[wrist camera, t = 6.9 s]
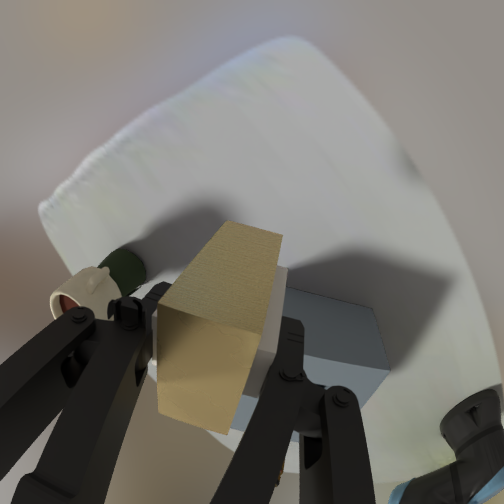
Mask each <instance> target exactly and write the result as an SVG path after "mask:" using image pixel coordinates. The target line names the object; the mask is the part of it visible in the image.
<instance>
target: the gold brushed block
mask: <svg viewBox="0 0 504 504" xmlns="http://www.w3.org/2000/svg"><path fill="white" fill-rule="evenodd" d="M282 237H283V235H281V234H277V233H274V232H270V231H266V230H262V229H259V228H255V227H251V226H247V225H244V224H240V223H236V222H232V221H228V220H227V221H226V222H225V223H224V224H223V225H222V226H221V227H220V229H219V230H218V231H217V232H216V233H215V234H214V236H213V237H212V238H211V239H210V240H209V241H208V243H207V244H206V245H205V246H204V247H203V248H202V250H201V251H200V252H199V253H198V254H197V256H196V257H195V258H194V259H193V260H192V261H191V263H190V264H189V265H188V266H187V267H186V269H185V270H184V271H183V272H182V273H181V275H180V276H179V277H178V278H177V279H176V281H175V282H174V283H173V284H172V286H171V287H170V288H169V289H168V290H167V292H166V293H165V294H164V295H163V297H162V298H161V299H160V300H159V302H158V303H157V390H158V411H159V413H161V414H163V415H166V416H169V417H171V418H174V419H177V420H180V421H182V422H185V423H188V424H191V425H194V426H198V427H201V428H204V429H207V430H210V431H214V432H217V433H221V434H224V435H227V434H228V431H229V429H230V426H231V423H232V421H233V418H234V415H235V412H236V409H237V407H238V404H239V401H240V398H241V395H242V392H243V390H244V387H245V384H246V381H247V378H248V375H249V372H250V369H251V366H252V363H253V360H254V357H255V354H256V351H257V348H258V345H259V342H260V339H261V336H262V332H263V328H264V323H265V319H266V314H267V309H268V305H269V300H270V295H271V291H272V286H273V281H274V276H275V271H276V267H277V262H278V257H279V252H280V247H281V242H282Z"/></svg>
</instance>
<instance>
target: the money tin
mask: <svg viewBox="0 0 504 504" xmlns="http://www.w3.org/2000/svg"><path fill="white" fill-rule="evenodd" d="M282 316H285V317H289V318H293V319H297V320H301V322H302V324H303V326H304V328H305V336H304V363H303V369H304V371H305V373H306V375H307V378H308V379H309V380H310V381H311V382H312V383H314V384H316V385H318V386H320V387H322V388H324V389H326V390H327V389H328V388H330V387H332V386H337V385H340V386H344V387H347V388H348V389H350V390H352V391H353V393H354V394H355V395H356V397H357V399H358V402H359V407H360V409H361V408H362V407H363V406H364V405H365V403H366V402H367V401H368V400H369V398H370V397H371V396H372V395H373V393H374V392H375V391H376V390H377V388H378V387H379V386H380V384H381V383H382V382H383V380H384V379H385V378H386V376H387V375H388V374H389V372H390V367H389V363H388V360H387V356H386V353H385V349H384V346H383V342H382V339H381V336H380V332H379V329H378V326H377V323H376V320H375V316H374V313H373V310H372V309H371V308H367V307H363V306H359V305H355V304H351V303H347V302H343V301H339V300H335V299H332V298H328V297H324V296H320V295H316V294H312V293H308V292H305V291H301V290H297V289H293V288H289V287H286V288H285V296H284V303H283V310H282ZM258 399H259V397H258V398H254V397H250V396H246V395H243V394H242V395H241V398H240V401H239V404H238V407H237V409H236V412H235V415H234V418H233V421H232V423H231V426H230V428H232V429H236V430H240V431H244V432H245V430H246V427H247V425H248V423H249V421H250V418H251V416H252V414H253V411H254V409H255V407H256V405H257V402H258ZM290 441H293V442H299V433H298V432H296V431H294V430H293V433H292V436H291V440H290Z"/></svg>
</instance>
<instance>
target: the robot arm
mask: <svg viewBox="0 0 504 504" xmlns="http://www.w3.org/2000/svg"><path fill="white" fill-rule="evenodd" d="M287 272H288V268H285V267H281V266H277V267H276V271H275V276H274V281H273V286H272V291H271V295H270V300H269V305H268V309H267V314H266V319H265V323H264V328H263V332H262V336H261V339H260V342H259V345H258V348H257V351H256V354H255V357H254V360H253V363H252V366H251V369H250V372H249V375H248V378H247V381H246V384H245V387H244V390H243V392H242V394H243V395H246V396H250V397H254V398H258V397H259V399H258V402H257V405H256V407H255V409H254V411H253V414H252V416H251V418H250V421H249V423H248V425H247V427H246V430H245V432H244V434H243V436H242V438H241V441H240V443H239V445H238V447H237V449H236V451H235V453H234V456H233V458H232V460H231V462H230V464H229V466H228V468H227V470H226V472H225V474H224V476H223V478H222V480H221V482H220V484H219V486H218V488H217V490H216V492H215V494H214V496H213V498H212V500H211V502H210V504H269V502H270V499H271V496H272V494H273V491H274V488H275V485H276V482H277V480H278V477H279V474H280V471H281V468H282V465H283V462H284V459H285V456H286V453H287V449H288V446H289V443H290V440H291V436H292V433H293V430H294V431H296V432H298V433H299V461H300V499H299V500H300V501H299V504H376V502H375V494H374V487H373V479H372V473H371V466H370V460H369V454H368V448H367V443H366V437H365V432H364V427H363V422H362V417H361V412H360V407H359V402H358V399H357V397H356V395H355V394H354V393H353V391H352V390H350V389H348V388H347V387H344V386H340V385H337V386H332V387H330V388H328V389H327V390H326V389H324V388H322V387H320V386H318V385H316V384H314V383H312V382H311V381H310V380H309V379H308V378H307V375H306V373H305V371H304V369H303V363H304V336H305V328H304V326H303V324H302V322H301V320H297V319H293V318H289V317H285V316H282V310H283V303H284V296H285V288H286V280H287ZM171 286H172V284H170V283H167V282H164V281H163V282H161V283H159V284H156V285H154V287H153V288H152V289H151V290H150V291H149V293H147V294H146V295H145V297H144V298H143V299H142V300H141V299H138V298H136V297H130V296H126V297H121V298H118V299H116V300H115V301H114V302H113V315H114V321H110V320H102V319H96V318H95V315H94V312H93V311H92V310H91V309H90V308H87V307H85V306H77V307H72V308H71V309H69V310H67V311H66V312H65V313H63V314H62V315H61V316H59V317H58V318H57V319H56V320H54V321H53V322H52V323H50V324H49V325H48V326H47V327H45V328H44V329H43V330H42V331H40V332H39V333H38V334H37V335H35V336H34V337H33V338H32V339H31V340H29V341H28V342H27V343H26V344H24V345H23V346H22V347H21V348H20V349H19V350H18V351H16V352H15V353H14V354H13V355H11V356H10V357H9V358H8V359H7V360H6V361H4V362H3V363H2V364H1V365H0V481H1V480H2V479H3V478H4V477H5V475H6V474H7V473H8V472H9V471H10V469H11V468H12V467H13V466H14V465H15V463H16V462H17V461H18V460H19V459H20V457H21V456H22V455H23V454H24V453H25V451H26V450H27V449H28V448H29V447H30V446H31V444H32V443H33V442H34V441H35V440H36V439H37V438H38V436H39V435H40V434H41V433H42V432H43V431H44V429H45V428H46V427H47V426H48V425H49V424H50V423H51V421H52V420H53V419H54V418H55V417H56V416H57V415H58V414H59V413H60V411H61V410H62V409H63V410H62V413H61V415H60V416H59V418H58V420H57V422H56V425H55V427H54V429H53V431H52V433H51V435H50V437H49V439H48V442H47V444H46V446H45V448H44V450H43V453H42V455H41V457H40V459H39V462H38V464H37V467H36V469H35V470H34V471H33V472H32V473H29V474H25V475H24V476H23V477H22V478H21V479H20V481H19V483H18V485H17V487H16V490H15V493H14V496H13V498H12V502H11V504H104V502H105V499H106V495H107V491H108V488H109V485H110V481H111V478H112V474H113V471H114V468H115V465H116V461H117V458H118V455H119V452H120V449H121V446H122V443H123V440H124V437H125V433H126V430H127V428H128V425H129V422H130V419H131V416H132V413H133V410H134V407H135V405H136V402H137V399H138V396H139V393H140V391H141V388H142V385H143V383H144V380H145V377H146V375H147V371H148V362H149V361H150V359H151V357H152V365H155V366H157V303H158V302H159V300H160V299H161V298H162V297H163V295H164V294H165V293H166V292H167V290H168V289H169V288H170V287H171ZM440 431H441V434H442V436H443V438H444V439H445V440H446V442H447V443H448V444H449V446H450V447H451V448H452V449H453V451H454V453H455V457H456V461H455V462H453V463H451V464H449V465H446V466H444V467H442V468H440V469H437V470H435V471H433V472H430V473H428V474H425V475H423V476H420V477H418V478H413V479H411V480H410V481H407V482H405V483H402V484H400V485H398V486H397V487H396V488H395V489H394V490H393V491H392V493H391V495H390V498H389V502H388V504H483V503H484V502H486V501H488V500H489V499H491V498H492V497H493V496H495V495H496V494H498V493H499V492H500V491H501V490H503V489H504V429H503V426H502V423H501V408H500V399H499V397H498V395H497V392H496V391H494V390H485V391H482V392H479V393H477V394H475V395H473V396H471V397H469V398H467V399H466V400H464V401H462V402H461V403H460V404H458V405H457V406H456V407H454V408H453V409H452V410H451V411H450V412H449V413H448V414H447V415H446V416H445V417H444V418H443V420H442V421H441V423H440Z"/></svg>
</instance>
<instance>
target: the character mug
mask: <svg viewBox="0 0 504 504" xmlns="http://www.w3.org/2000/svg"><path fill="white" fill-rule="evenodd" d="M145 280H146V271H145V269H144V266H143V264H142V261H140V260H139V259H138V258H137V257H136V256H135V255H134V254H132V253H131V252H129V251H127V250H125V249H116V250H115V251H113V252H111V253H110V254H109V255H108V256H107V257H106V258H105V259H104V260H103V261H102V262H101V263H100V265H99V266H98V267H97V268H96V267H93V266H91V267H88V268H85V269H82V270H81V271H80V272H78V273H77V274H76V275H74V276H73V277H72V278H70V279H69V280H68V281H67V282H65V283H64V284H63V285H62V286H60V287H59V288H57V289H56V290H55V291H54V292H53V293H52V295H51V297H50V307H51V310H52V313H53V316H54V318H55V320H56V319H57V318H58V317H59V316H61V315H62V314H63V313H65V312H66V311H67V310H69V309H71V308H72V307H77V306H85V307H87V308H90V309H91V310H92V311H93V312H94V315H95V318H96V319H102V320H110V321H114V315H113V302H114V301H115V300H116V299H118V298H121V297H126V296H130V295H131V294H133V293H134V292H135V291H137V290H138V289H139V288H140V287H139V288H137V287H138V286H139V285H141V284H142V283H143V282H144V281H145ZM136 288H137V289H136Z"/></svg>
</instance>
